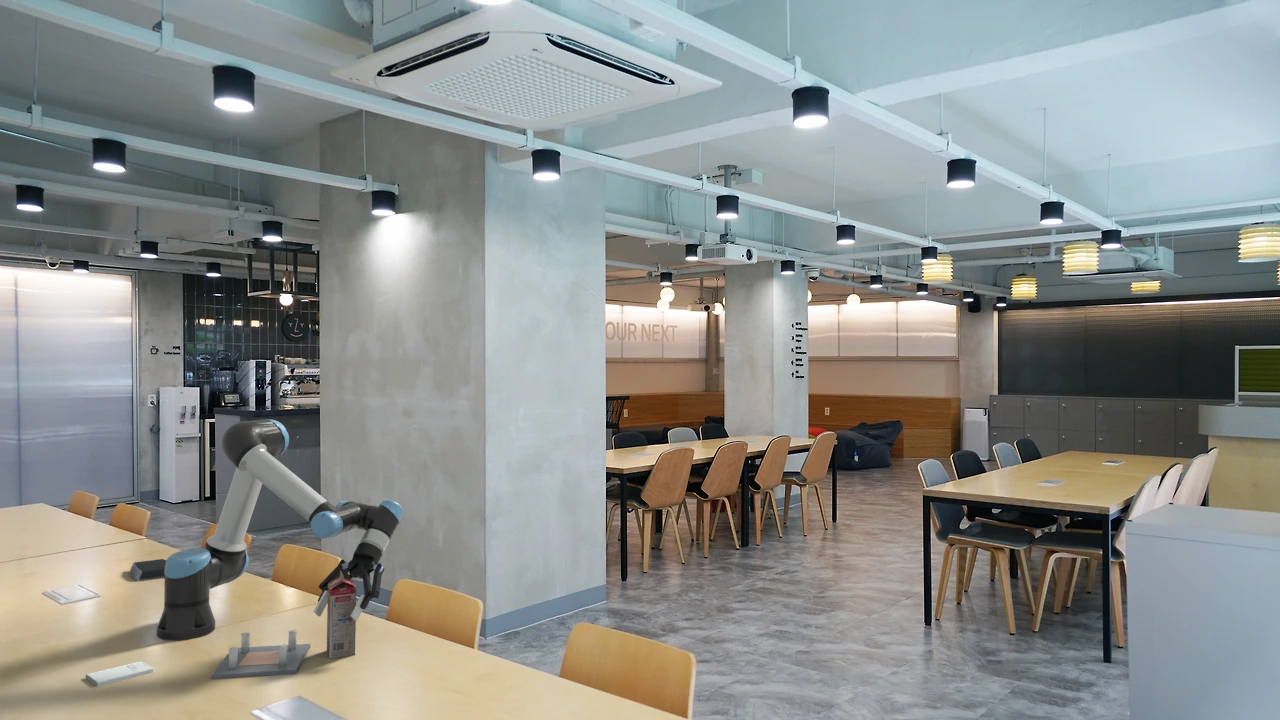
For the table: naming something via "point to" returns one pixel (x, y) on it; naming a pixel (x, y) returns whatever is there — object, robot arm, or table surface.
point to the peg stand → (262, 659)
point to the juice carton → (341, 617)
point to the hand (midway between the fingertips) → (335, 616)
